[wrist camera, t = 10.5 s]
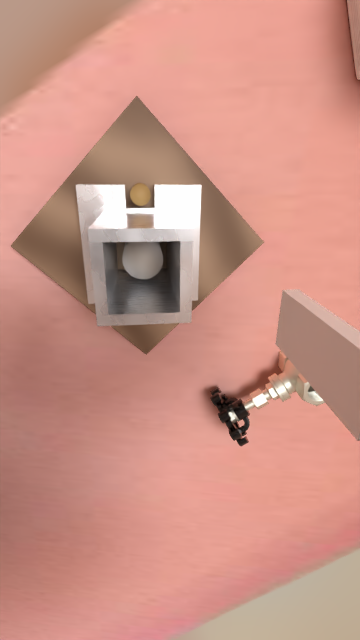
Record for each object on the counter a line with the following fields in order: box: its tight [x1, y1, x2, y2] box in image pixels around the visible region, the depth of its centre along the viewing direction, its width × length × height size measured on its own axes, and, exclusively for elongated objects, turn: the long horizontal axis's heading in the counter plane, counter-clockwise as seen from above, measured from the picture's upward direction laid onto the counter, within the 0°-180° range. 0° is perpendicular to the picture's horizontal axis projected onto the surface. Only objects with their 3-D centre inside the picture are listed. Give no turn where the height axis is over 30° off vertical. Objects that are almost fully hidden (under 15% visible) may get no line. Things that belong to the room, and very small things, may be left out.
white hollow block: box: [76, 184, 201, 326], centre depth 26 cm, size 10×10×11 cm
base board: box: [11, 96, 264, 354], centre depth 29 cm, size 16×16×8 cm
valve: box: [210, 351, 325, 446], centre depth 37 cm, size 7×7×12 cm
